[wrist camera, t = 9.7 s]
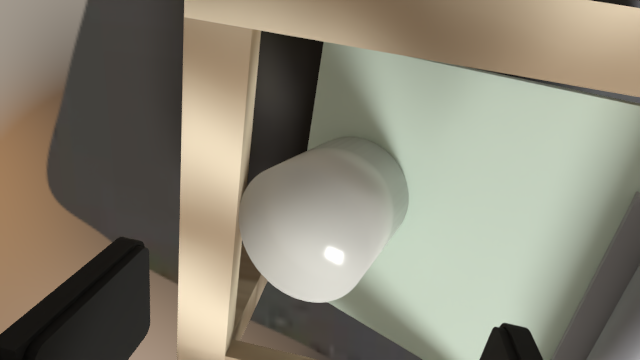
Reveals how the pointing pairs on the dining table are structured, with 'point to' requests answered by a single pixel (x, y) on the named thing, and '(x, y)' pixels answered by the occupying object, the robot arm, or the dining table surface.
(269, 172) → the stone
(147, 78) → the dining table surface
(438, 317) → the trapdoor
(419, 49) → the trapdoor frame
